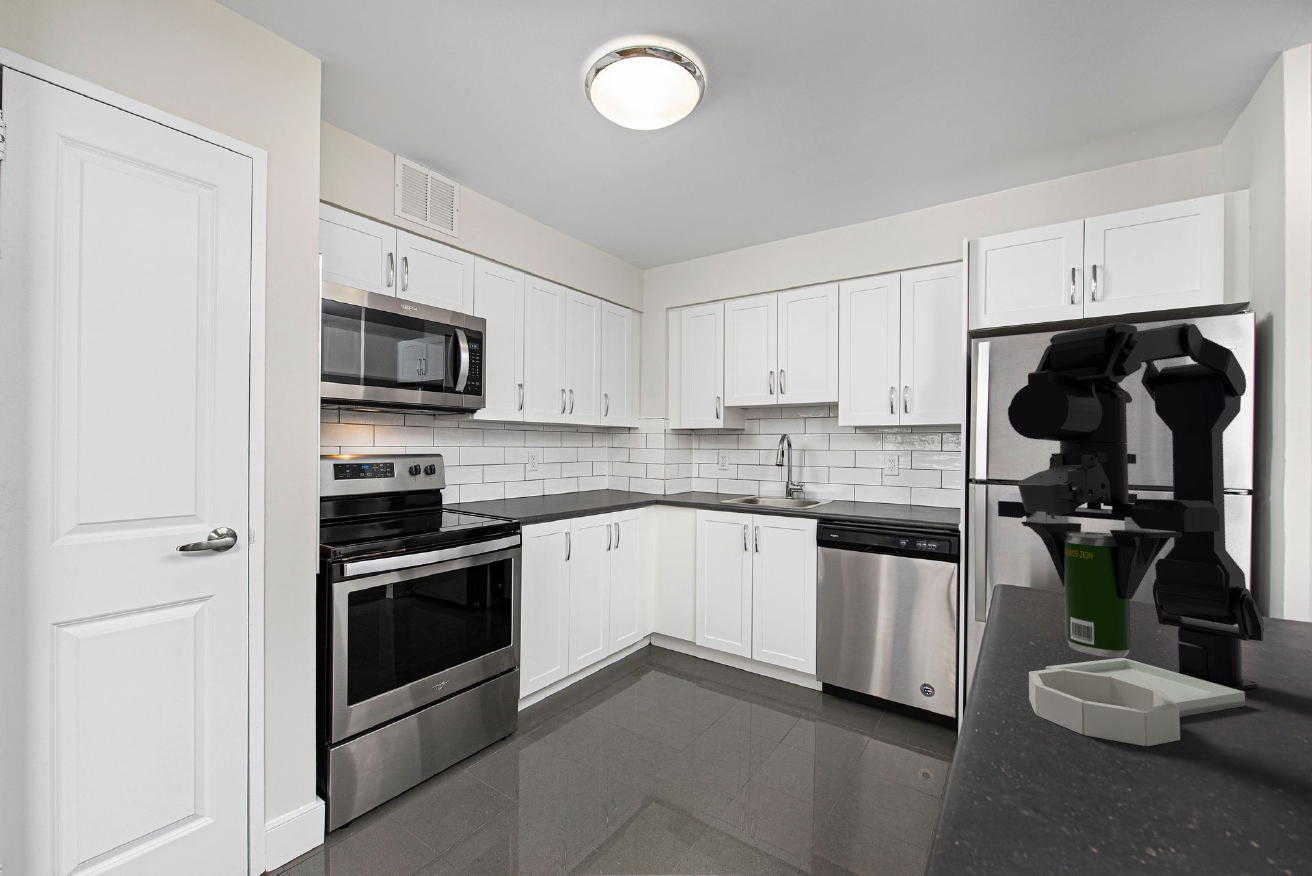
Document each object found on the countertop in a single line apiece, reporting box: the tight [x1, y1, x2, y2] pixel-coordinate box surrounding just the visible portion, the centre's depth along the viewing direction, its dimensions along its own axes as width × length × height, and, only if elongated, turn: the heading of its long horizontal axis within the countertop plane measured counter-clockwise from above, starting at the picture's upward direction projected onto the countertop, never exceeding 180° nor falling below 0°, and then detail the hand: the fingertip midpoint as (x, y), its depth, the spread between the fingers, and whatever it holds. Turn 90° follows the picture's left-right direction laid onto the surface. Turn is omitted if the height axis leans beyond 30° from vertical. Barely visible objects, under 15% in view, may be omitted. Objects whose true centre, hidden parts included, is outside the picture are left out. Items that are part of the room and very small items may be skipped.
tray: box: [1045, 657, 1246, 718], centre depth 68 cm, size 14×12×2 cm
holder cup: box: [1028, 668, 1181, 747], centre depth 60 cm, size 12×12×3 cm
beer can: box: [1064, 531, 1132, 658], centre depth 60 cm, size 5×5×12 cm
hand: (1096, 593), depth 60 cm, fingers closed on beer can, 5 cm apart
